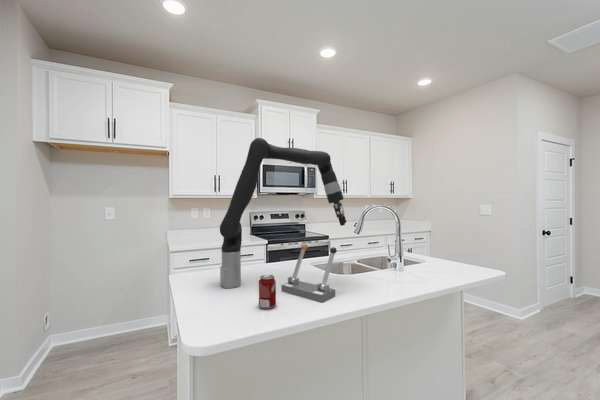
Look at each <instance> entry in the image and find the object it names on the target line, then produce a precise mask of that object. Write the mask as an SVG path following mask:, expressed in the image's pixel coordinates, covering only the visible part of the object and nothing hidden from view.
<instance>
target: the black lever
mask: <svg viewBox="0 0 600 400" xmlns="http://www.w3.org/2000/svg"><path fill="white" fill-rule="evenodd" d="M337 251H338V250H337V248H336V247H333V246H332V247H331V248H329V252H330V253H329V257H328V260H327V264H326V267H325V271H324V273H323V274H324V275H323V278H322V280H321V283H322V284H320V286H319V289H320V290H323V291H325V288H324V286H326V285H327V282H328V279H329V276H330V273H331V269H332V265H333V262H334V257H335V255H336V253H337Z"/></svg>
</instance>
